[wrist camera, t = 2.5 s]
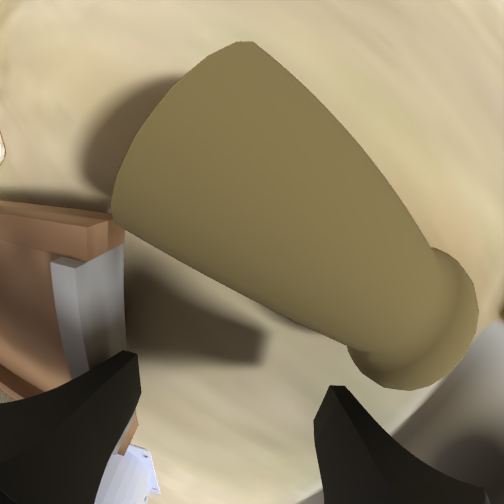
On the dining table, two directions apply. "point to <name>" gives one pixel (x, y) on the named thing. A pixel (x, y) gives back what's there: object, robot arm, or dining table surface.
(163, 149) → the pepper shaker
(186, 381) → the dining table surface
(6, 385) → the brown wooden square tray
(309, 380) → the dining table surface
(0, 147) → the pepper shaker
